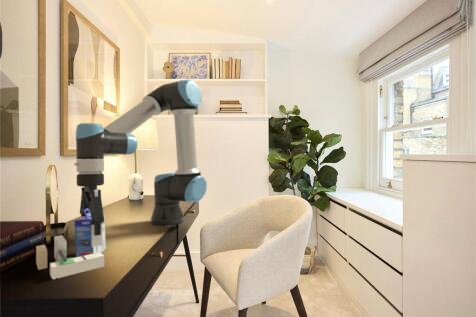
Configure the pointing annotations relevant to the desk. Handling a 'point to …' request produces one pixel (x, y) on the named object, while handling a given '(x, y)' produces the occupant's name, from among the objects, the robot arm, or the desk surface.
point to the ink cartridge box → (87, 236)
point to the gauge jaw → (60, 248)
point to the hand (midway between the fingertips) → (91, 240)
